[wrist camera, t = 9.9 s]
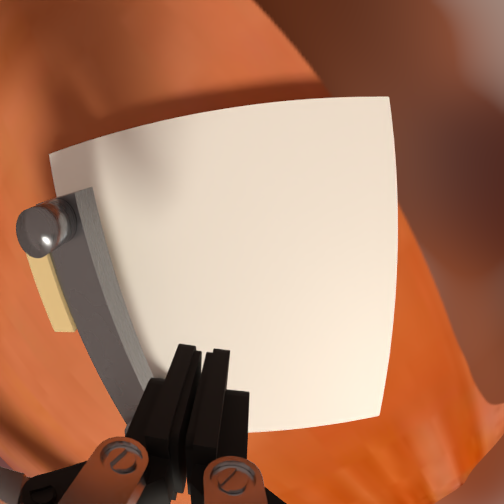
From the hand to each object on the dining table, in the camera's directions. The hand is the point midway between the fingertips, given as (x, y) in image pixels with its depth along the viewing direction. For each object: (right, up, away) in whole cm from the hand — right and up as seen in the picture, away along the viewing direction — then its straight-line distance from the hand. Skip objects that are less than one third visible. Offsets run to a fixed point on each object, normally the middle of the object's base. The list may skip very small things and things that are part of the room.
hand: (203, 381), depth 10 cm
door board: (+1, +1, +10) cm, 10 cm away
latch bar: (-6, 0, +8) cm, 10 cm away
